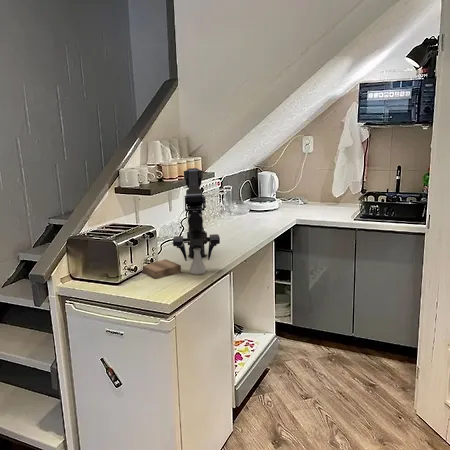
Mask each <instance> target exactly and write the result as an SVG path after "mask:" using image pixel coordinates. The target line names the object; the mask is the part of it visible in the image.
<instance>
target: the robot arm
mask: <svg viewBox="0 0 450 450" xmlns="http://www.w3.org/2000/svg"><path fill="white" fill-rule="evenodd" d="M203 173H204V172H203V169H199V168H198V167H193V168H192V167H191V168H187V169H186V170H184V171H183V181H184V182H185V185H186V187H187V188H188V189H186V191H185V195H184V212H187V224H188V230H187V232H186V236H187V238H186V237H184V235H179V236H178V235H177V236H176V235H175V236H174V237H173V239H172V246H173V247H176V249H179V250H180V252H181V253H182V256H183V258H184V261H185V262H188V261H187V259H188V258H187V257H189V258H192V259H193V257H194V251H193V249H194V248H200V249H201V250H200V254H201V258H202V259H203V258H205V257H207V259H208V260H207V261H210V259H211V256H212V252H213V249H214V248H215V247H216V246H217V245H219V244H221V243H220V242H221V240H220V238H221V237H220V234H215V233H214V234H209V236H208V232H206V230H204V229H205V227H204V220H203V211H205V208H207V203H206V197H205V195H204V194H203V192H202V189H201V185H202V181H203V180H204V176H203ZM185 244H187V246H189V247H188V255H187V251H186V246H185ZM207 244H208V250H207V251H208V253H207V254H206V253H205V252H206V249H205V245H207Z"/></svg>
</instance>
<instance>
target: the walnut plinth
mask: <svg viewBox="0 0 450 450" xmlns="http://www.w3.org/2000/svg"><path fill="white" fill-rule="evenodd" d="M146 264H147V265H145V266H143V271H142V272H141V273H142V274H145V275H147V276H149V277H150V278H153V279H155V280H158V279H160V278H164V277H168V276H172V275H176V274H180V273H182V265H181V264H178V263H176V262H175V261H174V262H173V261H171V260H168V259H166V258H165V259H162V260H158V261H157V260H156V261H153V262H150V264H148V263H146Z"/></svg>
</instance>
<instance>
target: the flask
mask: <svg viewBox="0 0 450 450" xmlns="http://www.w3.org/2000/svg"><path fill="white" fill-rule="evenodd" d="M200 250H201V249H200V248H194V249H193V251H194V257H193V258H192V262H191V264H190V265H191V266H190V269H189V273H190V274H191V275H204V274H206V273H207V272H208V271H207V269H206V266H205V264H204V261H203V257H202V258H201V254H200Z"/></svg>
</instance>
